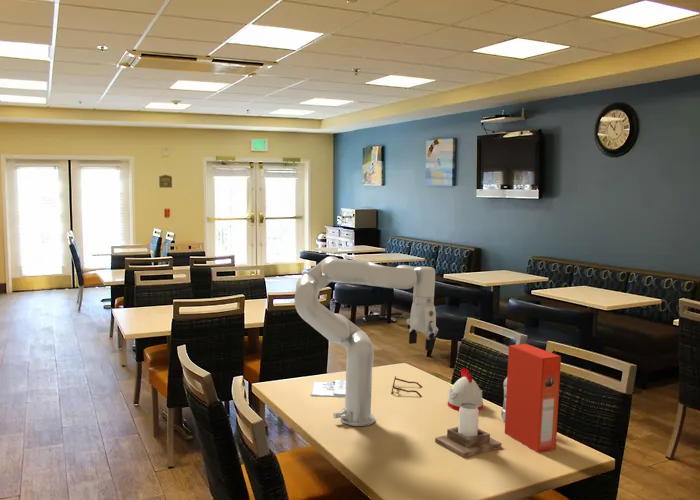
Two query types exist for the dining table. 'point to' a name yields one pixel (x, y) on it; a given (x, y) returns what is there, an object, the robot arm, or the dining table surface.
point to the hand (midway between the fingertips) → (420, 346)
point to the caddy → (467, 442)
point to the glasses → (403, 389)
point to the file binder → (532, 396)
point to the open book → (329, 389)
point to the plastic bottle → (504, 400)
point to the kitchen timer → (465, 392)
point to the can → (468, 420)
